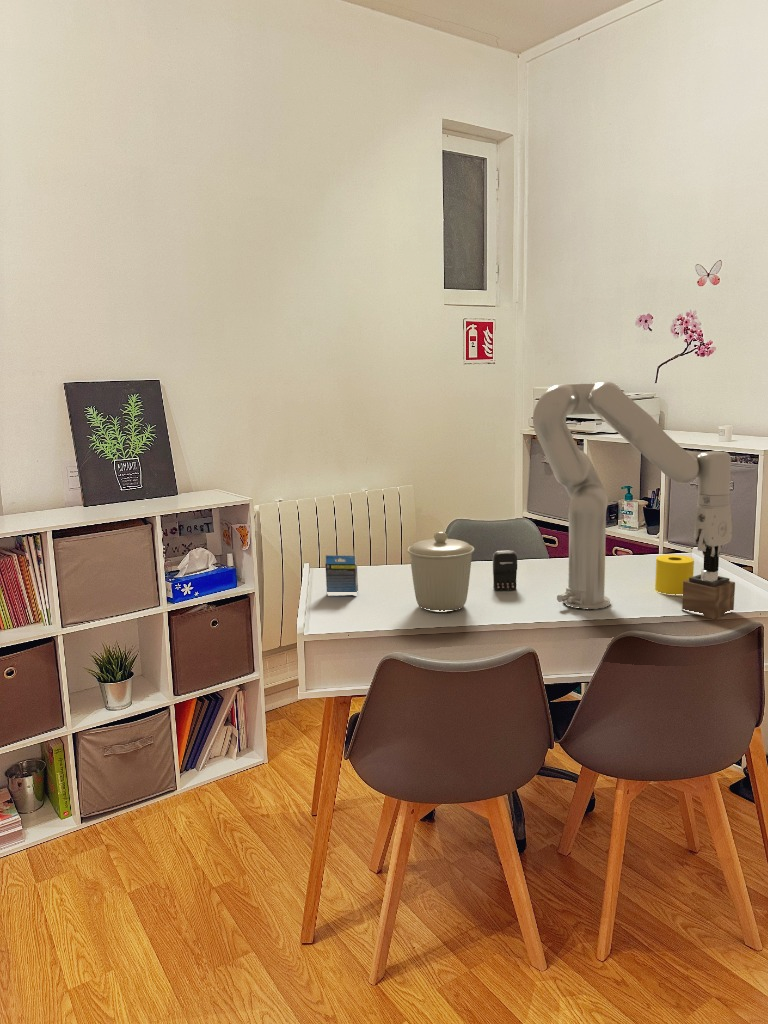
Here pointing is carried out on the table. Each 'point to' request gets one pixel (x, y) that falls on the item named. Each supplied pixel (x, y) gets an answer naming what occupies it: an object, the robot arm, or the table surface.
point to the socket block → (708, 596)
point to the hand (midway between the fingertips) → (710, 570)
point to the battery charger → (504, 570)
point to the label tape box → (341, 574)
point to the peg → (709, 575)
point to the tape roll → (673, 573)
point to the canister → (441, 572)
